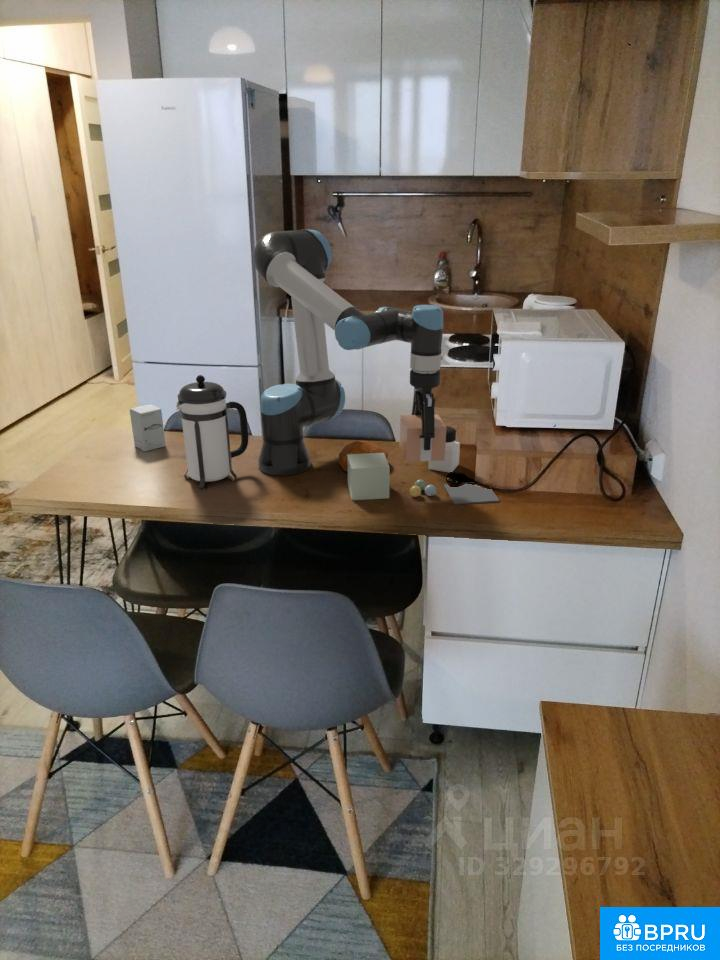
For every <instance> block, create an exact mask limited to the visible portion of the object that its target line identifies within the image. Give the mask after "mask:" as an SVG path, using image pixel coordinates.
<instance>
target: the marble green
mask: <svg viewBox="0 0 720 960" xmlns="http://www.w3.org/2000/svg"><path fill="white" fill-rule="evenodd" d="M414 486H419V487H420V489H421V491H423V490H425V487H426V486H427V485H426V482H425V480H424V479H420V478H419V479H417V480H416V481H415V482H414Z"/></svg>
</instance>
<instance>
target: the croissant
mask: <svg viewBox="0 0 720 960" xmlns="http://www.w3.org/2000/svg"><path fill="white" fill-rule="evenodd" d="M367 453H384V454H385V456H386V459H387V461H388V460H389V459H388V456H389V454H388V452H387V450H385V448H382V447H381V446H379V445H377V444H374V443H372V442H370V441H369V440H355V441H353V442H350V443H348V444H346V445H345V446H344V447H343V449H342V450H340V452H339V454H338V463H339V465H340V467H341V468H342V469H343V470H344V471H345V472H347V473H348V464H347V454H367ZM388 462H389V461H388Z"/></svg>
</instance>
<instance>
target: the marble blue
mask: <svg viewBox="0 0 720 960" xmlns="http://www.w3.org/2000/svg"><path fill="white" fill-rule="evenodd" d="M436 491H437V488H436V486H434V485H433V484H428V485H426V486H425V488H424V494H426V496H427V497H433V496H434V495H436V493H437V492H436Z"/></svg>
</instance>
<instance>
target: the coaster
mask: <svg viewBox="0 0 720 960" xmlns="http://www.w3.org/2000/svg"><path fill="white" fill-rule="evenodd" d="M465 483H466V484H464V485H462V486H459V487H450V486H448V485H447V484H448V483H445V484H443V487H444V489H445V491H446V493H447V494H448V496H449V498H450V499H451V501H452V503H453V505H467V504H468V505H469V504H485V503H499V502H500V499H499V498H498V496H497V495H496V494H495V492H494V491H493V489H492V488H491V489H487V488H482V487H477V486H474V485H472V484H467V483H468V482H465Z"/></svg>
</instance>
